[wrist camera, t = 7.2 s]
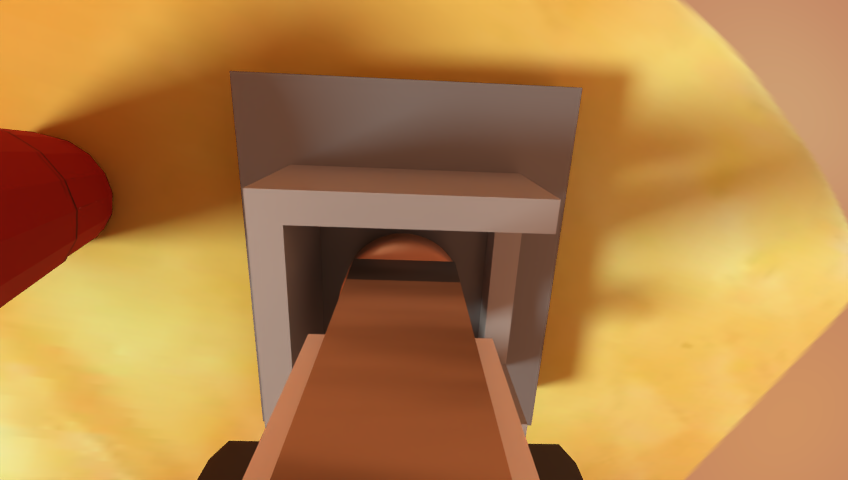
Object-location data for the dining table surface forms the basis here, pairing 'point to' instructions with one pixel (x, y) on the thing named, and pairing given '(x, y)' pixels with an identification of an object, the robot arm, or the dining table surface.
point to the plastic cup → (45, 206)
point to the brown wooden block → (396, 385)
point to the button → (401, 250)
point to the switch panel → (401, 201)
